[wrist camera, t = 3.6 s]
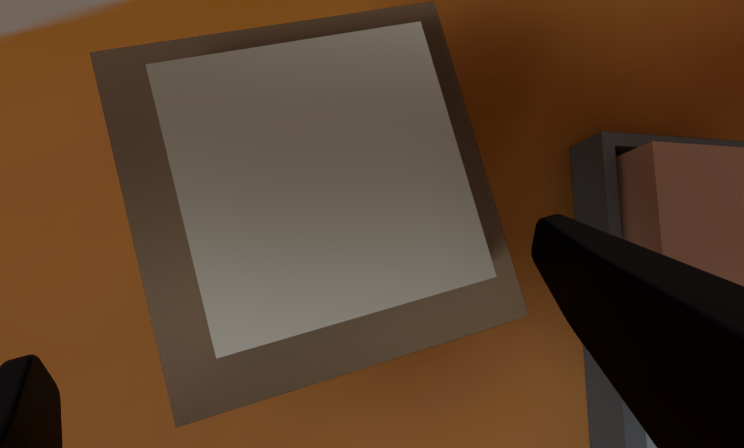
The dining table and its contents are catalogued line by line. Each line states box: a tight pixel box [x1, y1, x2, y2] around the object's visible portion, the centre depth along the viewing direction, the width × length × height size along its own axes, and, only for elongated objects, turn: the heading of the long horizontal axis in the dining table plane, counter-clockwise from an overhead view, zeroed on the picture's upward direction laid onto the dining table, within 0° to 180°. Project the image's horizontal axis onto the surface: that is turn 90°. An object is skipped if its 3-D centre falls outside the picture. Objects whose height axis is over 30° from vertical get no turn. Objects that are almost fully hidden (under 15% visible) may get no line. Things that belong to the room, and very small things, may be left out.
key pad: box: [570, 131, 744, 448], centre depth 19 cm, size 20×7×4 cm, turn 0°
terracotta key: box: [616, 141, 744, 286], centre depth 19 cm, size 6×6×2 cm
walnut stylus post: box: [90, 1, 529, 427], centre depth 12 cm, size 4×4×13 cm
